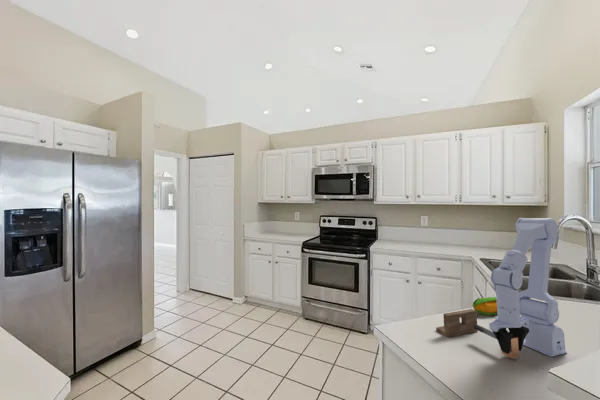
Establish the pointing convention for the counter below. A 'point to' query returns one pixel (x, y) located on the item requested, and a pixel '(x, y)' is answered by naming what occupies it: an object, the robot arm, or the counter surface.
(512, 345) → the hook pin
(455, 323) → the slotted wooden block
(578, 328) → the counter surface
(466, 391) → the counter surface
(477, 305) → the corn
